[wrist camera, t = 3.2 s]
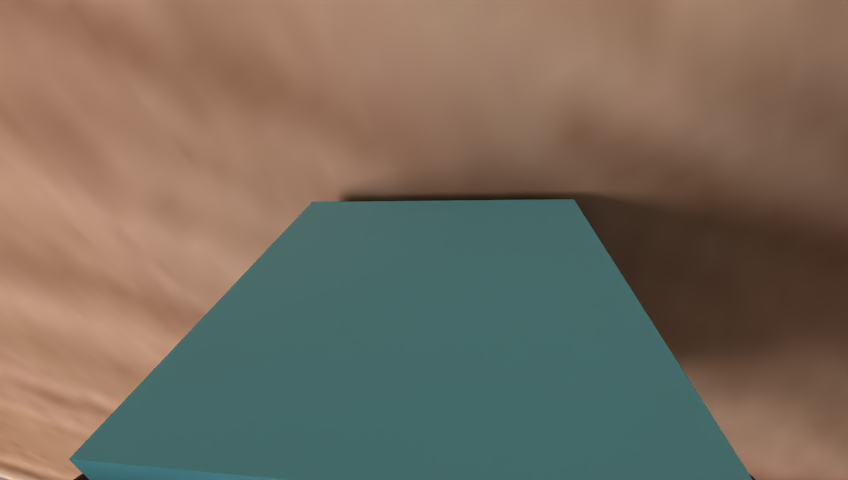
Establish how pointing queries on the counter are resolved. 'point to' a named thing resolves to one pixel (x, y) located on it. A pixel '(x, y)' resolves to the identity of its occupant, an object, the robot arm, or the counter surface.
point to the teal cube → (420, 361)
